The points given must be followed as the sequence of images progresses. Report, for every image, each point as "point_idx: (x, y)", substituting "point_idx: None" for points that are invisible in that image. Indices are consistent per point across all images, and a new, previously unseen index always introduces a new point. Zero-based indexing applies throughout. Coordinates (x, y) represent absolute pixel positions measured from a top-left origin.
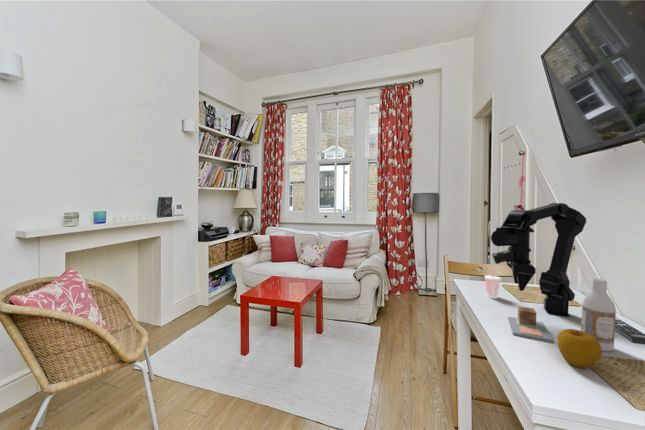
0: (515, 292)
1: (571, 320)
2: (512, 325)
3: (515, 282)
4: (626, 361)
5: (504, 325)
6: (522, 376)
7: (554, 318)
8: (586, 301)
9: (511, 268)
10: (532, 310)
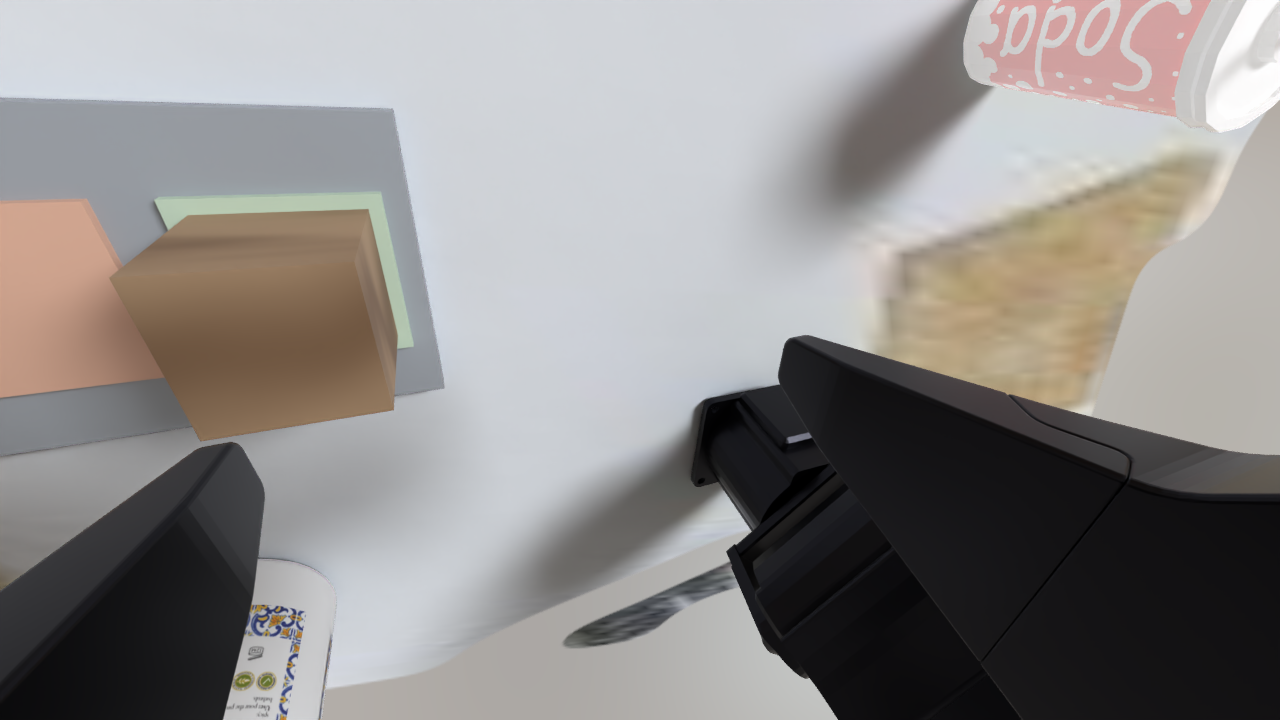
0: (1060, 236)
1: (641, 489)
2: (25, 123)
3: (795, 351)
4: None
5: (42, 17)
6: None
7: (632, 427)
8: None
9: (1208, 504)
10: (286, 405)
